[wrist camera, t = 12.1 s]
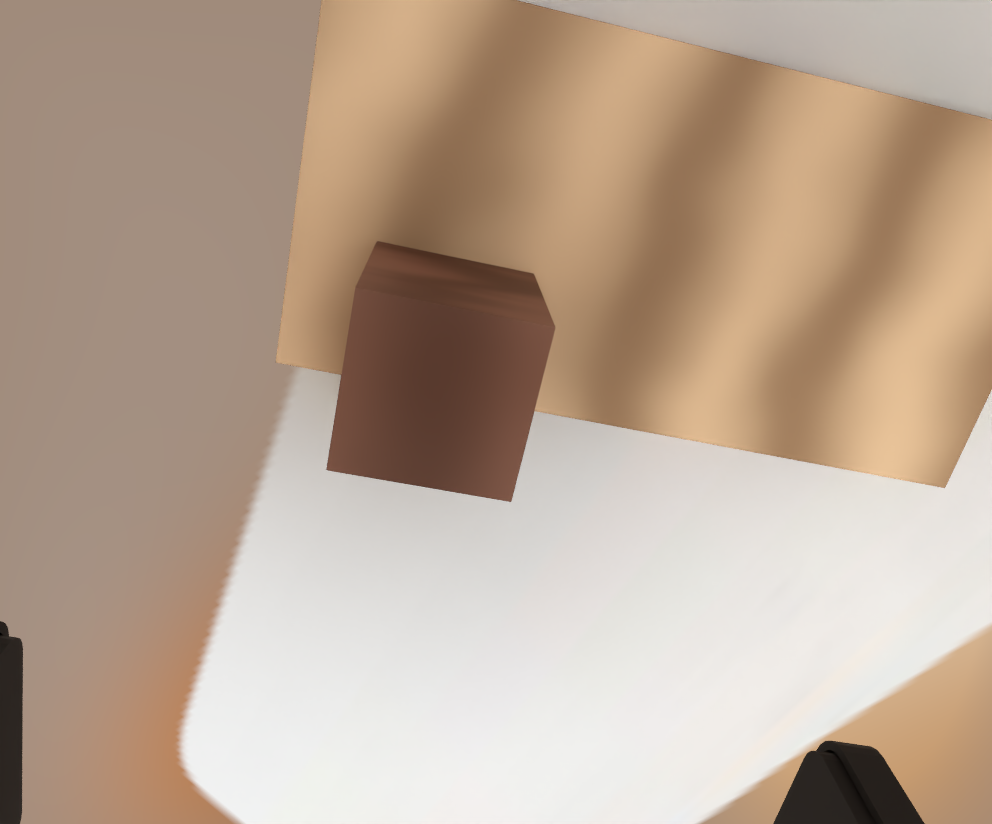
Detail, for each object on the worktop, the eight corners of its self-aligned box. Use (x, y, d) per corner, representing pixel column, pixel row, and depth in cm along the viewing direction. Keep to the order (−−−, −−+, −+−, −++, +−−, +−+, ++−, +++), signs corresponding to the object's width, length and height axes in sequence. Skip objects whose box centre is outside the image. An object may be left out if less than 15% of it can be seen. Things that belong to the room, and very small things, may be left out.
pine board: (1061, 143, 27) (1105, 148, 25) (916, 463, 31) (944, 487, 30) (337, -38, 24) (327, -48, 22) (287, 343, 28) (275, 362, 27)
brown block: (529, 263, 27) (555, 327, 20) (491, 425, 29) (503, 533, 23) (380, 232, 27) (355, 287, 20) (352, 400, 29) (321, 503, 22)
